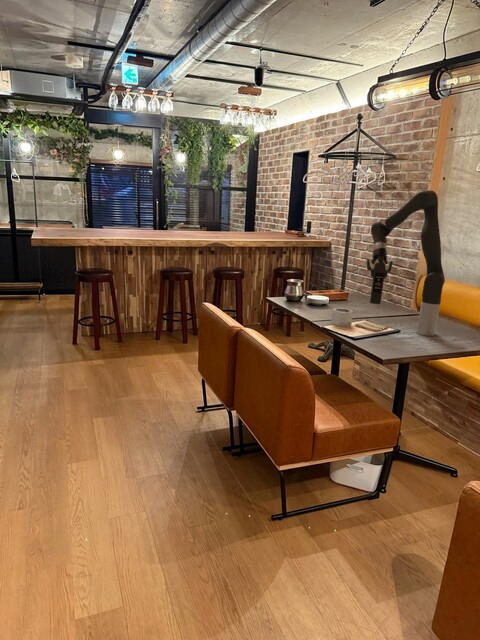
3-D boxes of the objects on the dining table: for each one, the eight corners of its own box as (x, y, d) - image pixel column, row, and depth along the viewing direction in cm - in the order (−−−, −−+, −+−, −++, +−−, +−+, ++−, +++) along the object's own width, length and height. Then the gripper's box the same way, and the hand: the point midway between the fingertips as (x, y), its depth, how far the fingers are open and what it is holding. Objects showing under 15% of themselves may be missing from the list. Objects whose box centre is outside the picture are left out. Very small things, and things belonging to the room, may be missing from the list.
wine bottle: (380, 304, 246) (388, 248, 238) (369, 303, 247) (377, 247, 239) (379, 302, 251) (387, 247, 244) (369, 301, 252) (376, 246, 245)
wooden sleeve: (338, 320, 261) (340, 307, 259) (354, 325, 254) (356, 311, 252) (328, 323, 254) (329, 309, 252) (343, 327, 247) (345, 313, 245)
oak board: (367, 322, 261) (367, 321, 261) (387, 328, 252) (388, 326, 252) (354, 326, 252) (354, 324, 252) (375, 331, 243) (376, 329, 243)
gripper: (367, 246, 250) (366, 271, 242) (394, 248, 247) (394, 273, 239) (365, 255, 256) (364, 279, 248) (391, 257, 254) (391, 282, 246)
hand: (378, 276), depth 244 cm, fingers closed on wine bottle, 5 cm apart
